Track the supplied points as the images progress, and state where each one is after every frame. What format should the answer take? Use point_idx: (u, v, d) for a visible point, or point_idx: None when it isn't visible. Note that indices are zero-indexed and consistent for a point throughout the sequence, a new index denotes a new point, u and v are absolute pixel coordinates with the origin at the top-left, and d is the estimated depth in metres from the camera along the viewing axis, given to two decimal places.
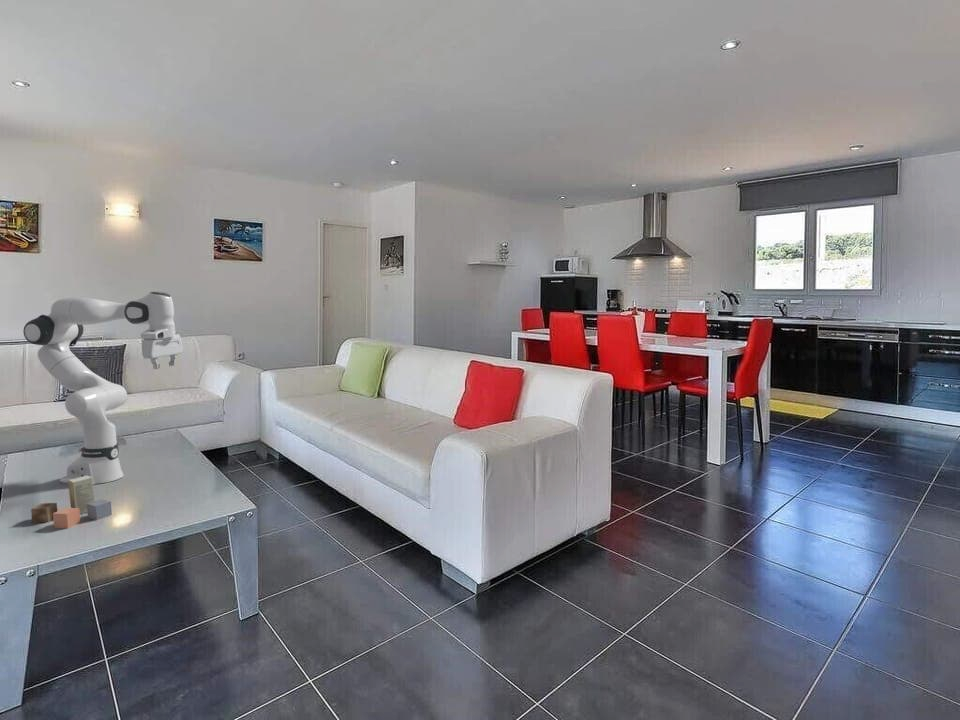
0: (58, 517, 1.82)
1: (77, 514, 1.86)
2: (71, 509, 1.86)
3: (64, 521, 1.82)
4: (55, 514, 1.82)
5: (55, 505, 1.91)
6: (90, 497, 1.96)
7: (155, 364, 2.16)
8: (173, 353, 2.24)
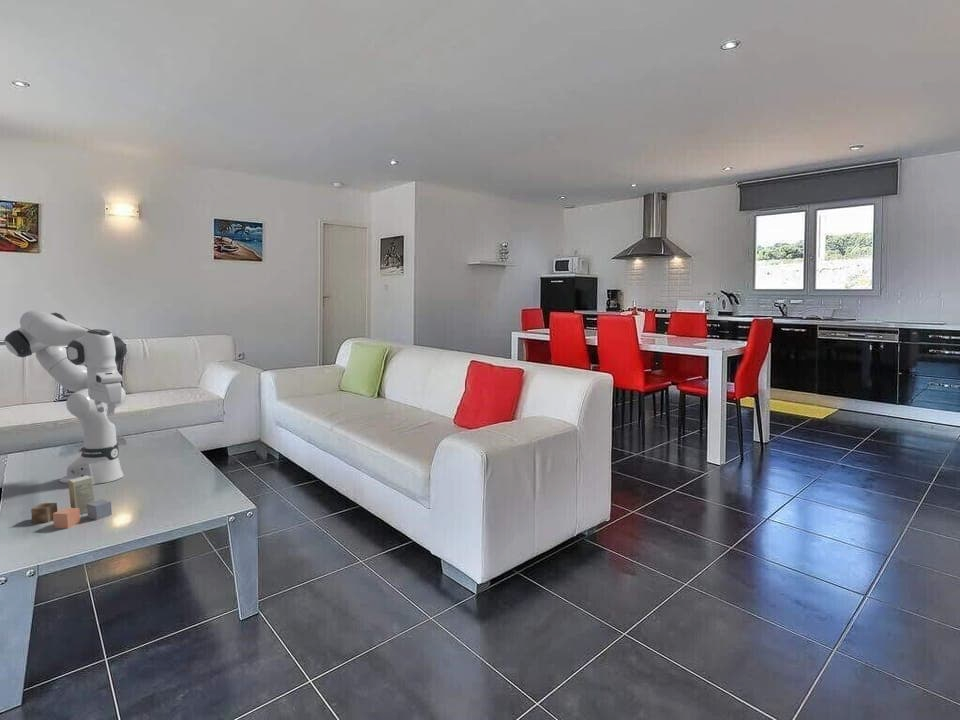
0: (58, 517, 1.82)
1: (77, 514, 1.86)
2: (71, 509, 1.86)
3: (64, 521, 1.82)
4: (55, 514, 1.82)
5: (55, 505, 1.90)
6: (90, 497, 1.96)
7: (112, 410, 1.94)
8: None
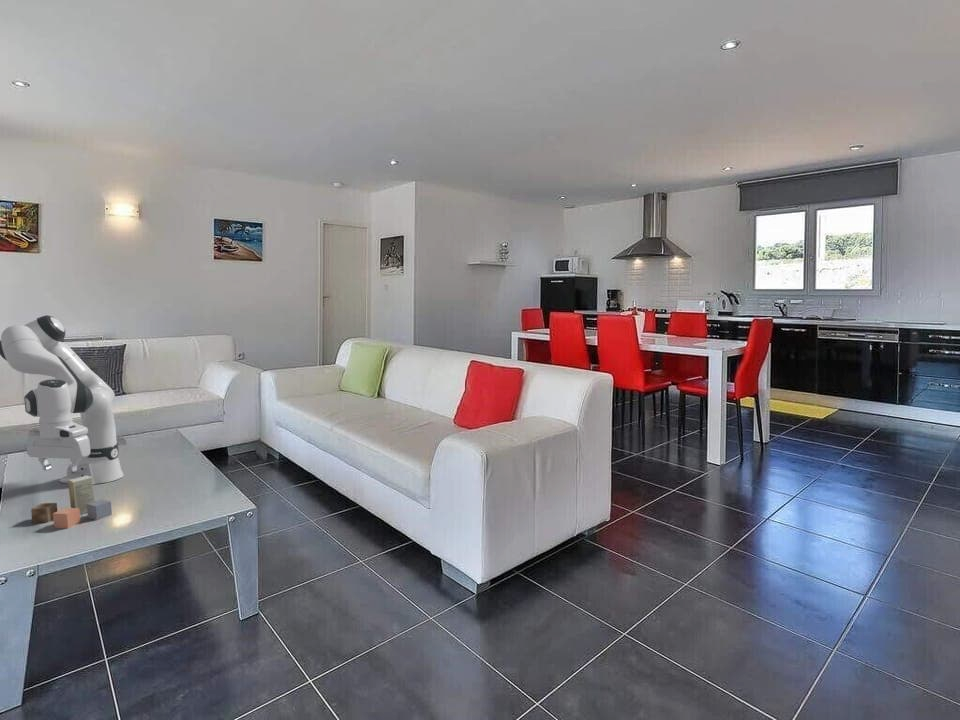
0: (58, 517, 1.82)
1: (77, 514, 1.86)
2: (71, 509, 1.86)
3: (64, 521, 1.82)
4: (55, 514, 1.82)
5: (55, 505, 1.91)
6: (90, 497, 1.96)
7: (75, 465, 1.82)
8: None
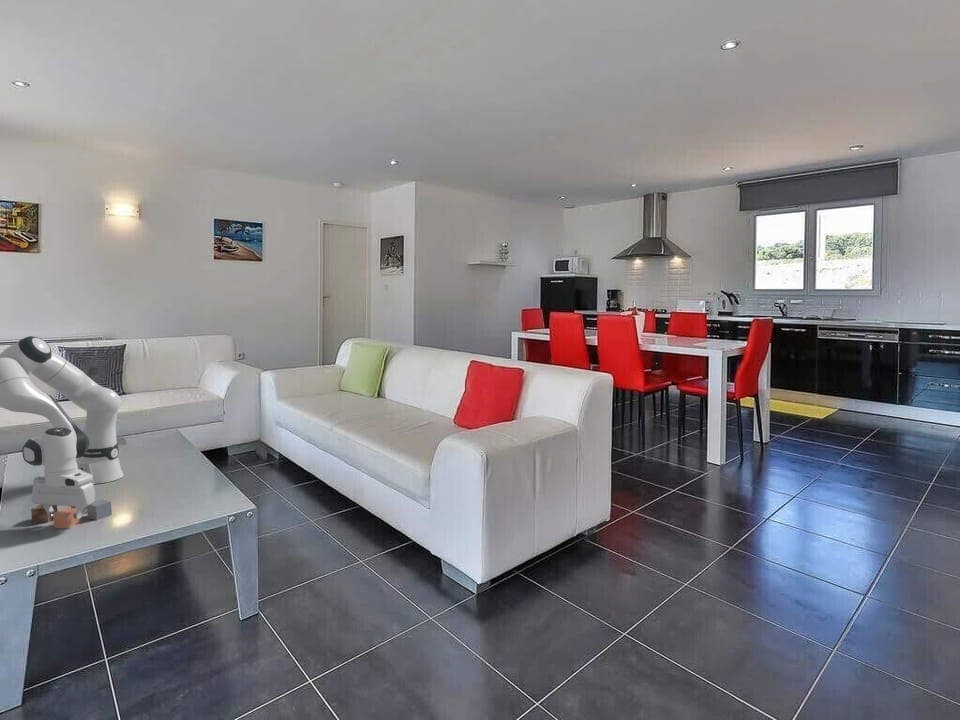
0: (58, 517, 1.82)
1: None
2: (71, 509, 1.86)
3: (64, 521, 1.82)
4: (55, 514, 1.82)
5: (55, 505, 1.91)
6: None
7: (80, 512, 1.84)
8: None
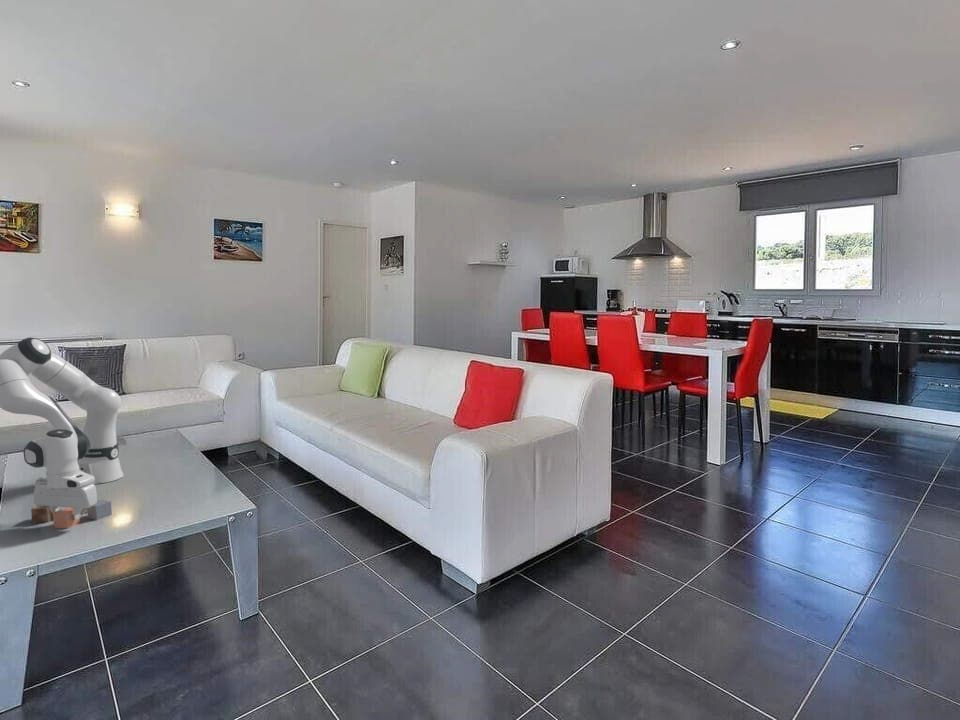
0: (58, 516, 1.82)
1: None
2: (71, 509, 1.85)
3: (64, 520, 1.82)
4: (55, 514, 1.82)
5: None
6: None
7: (78, 513, 1.84)
8: None
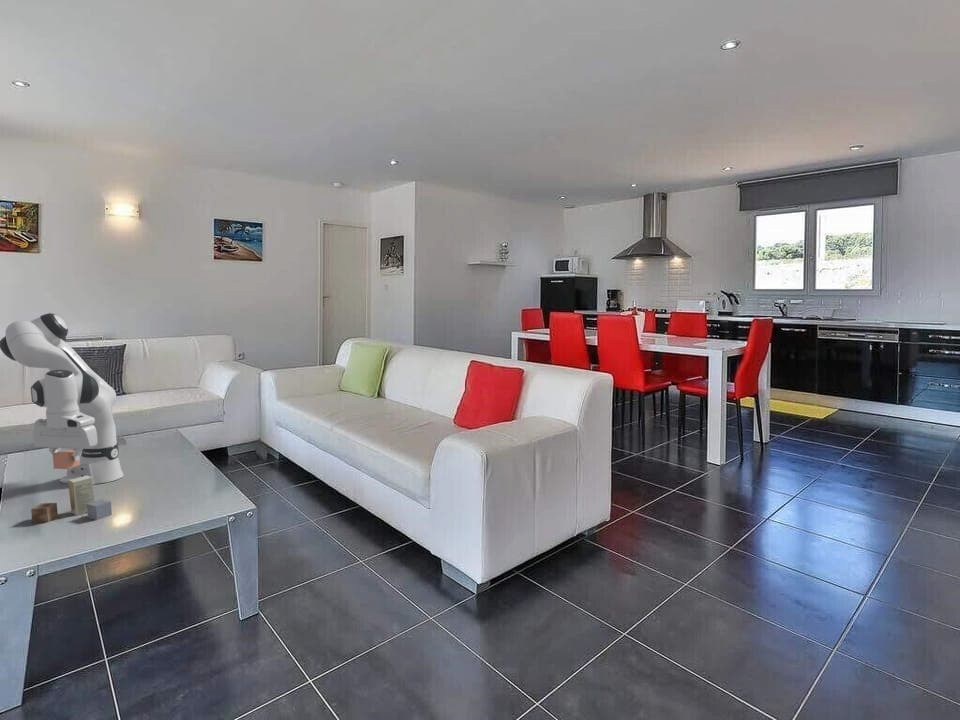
0: (58, 457, 1.81)
1: None
2: (71, 450, 1.84)
3: (64, 461, 1.81)
4: (55, 454, 1.81)
5: (55, 505, 1.90)
6: (90, 497, 1.96)
7: (78, 455, 1.83)
8: None
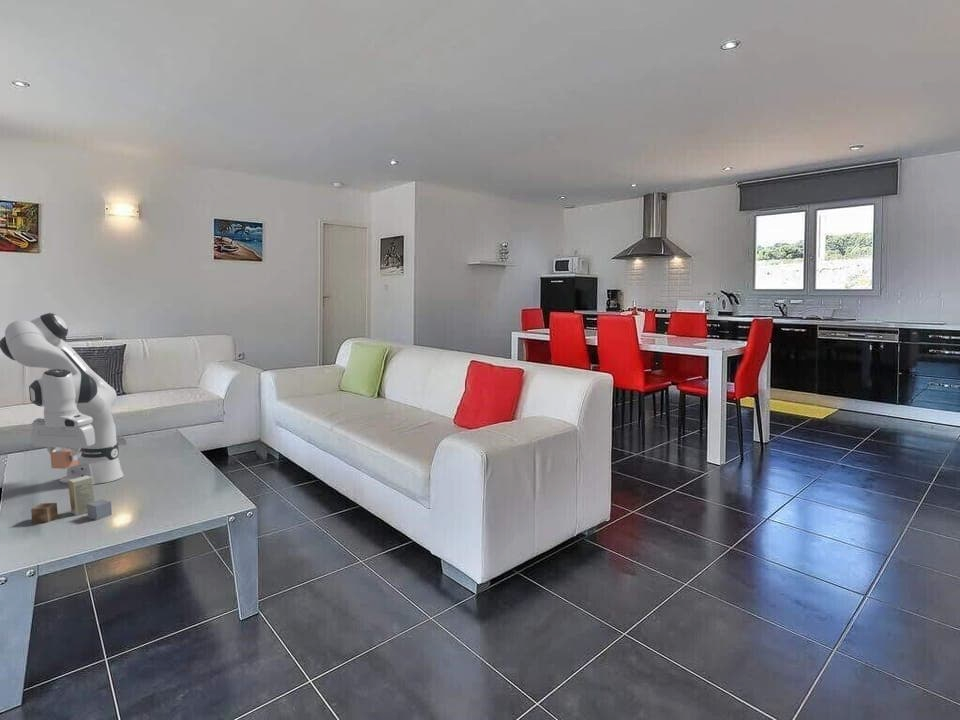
0: (55, 457, 1.81)
1: None
2: (69, 450, 1.84)
3: (61, 461, 1.81)
4: (52, 454, 1.81)
5: (55, 505, 1.90)
6: (90, 497, 1.96)
7: (76, 454, 1.83)
8: None
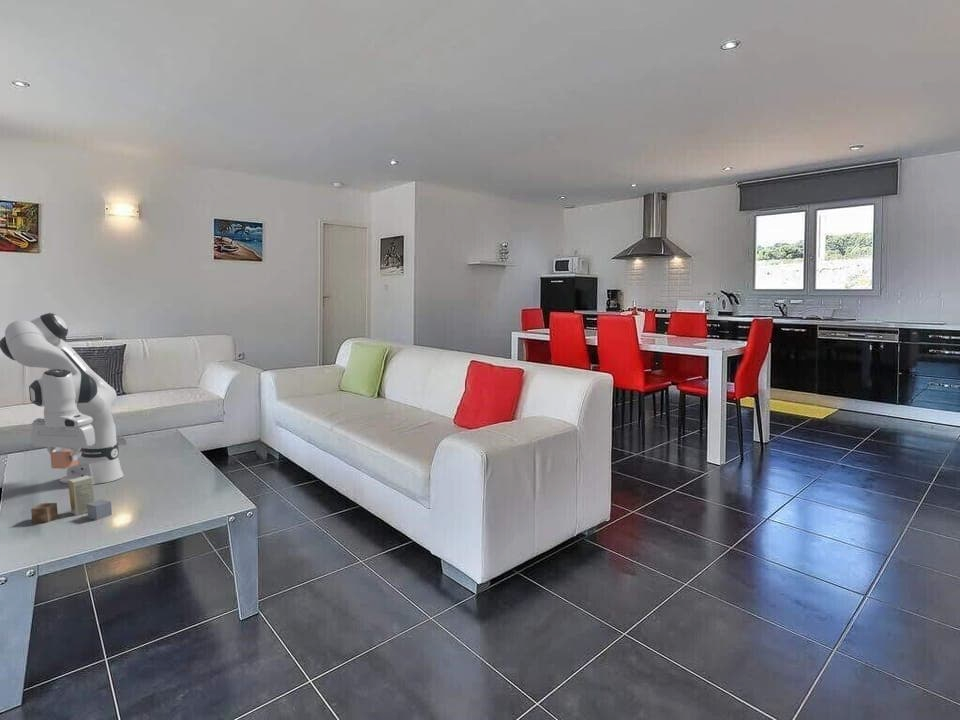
0: (55, 457, 1.81)
1: None
2: (69, 450, 1.84)
3: (61, 461, 1.81)
4: (52, 454, 1.81)
5: (55, 505, 1.90)
6: (90, 497, 1.96)
7: (76, 454, 1.83)
8: None
